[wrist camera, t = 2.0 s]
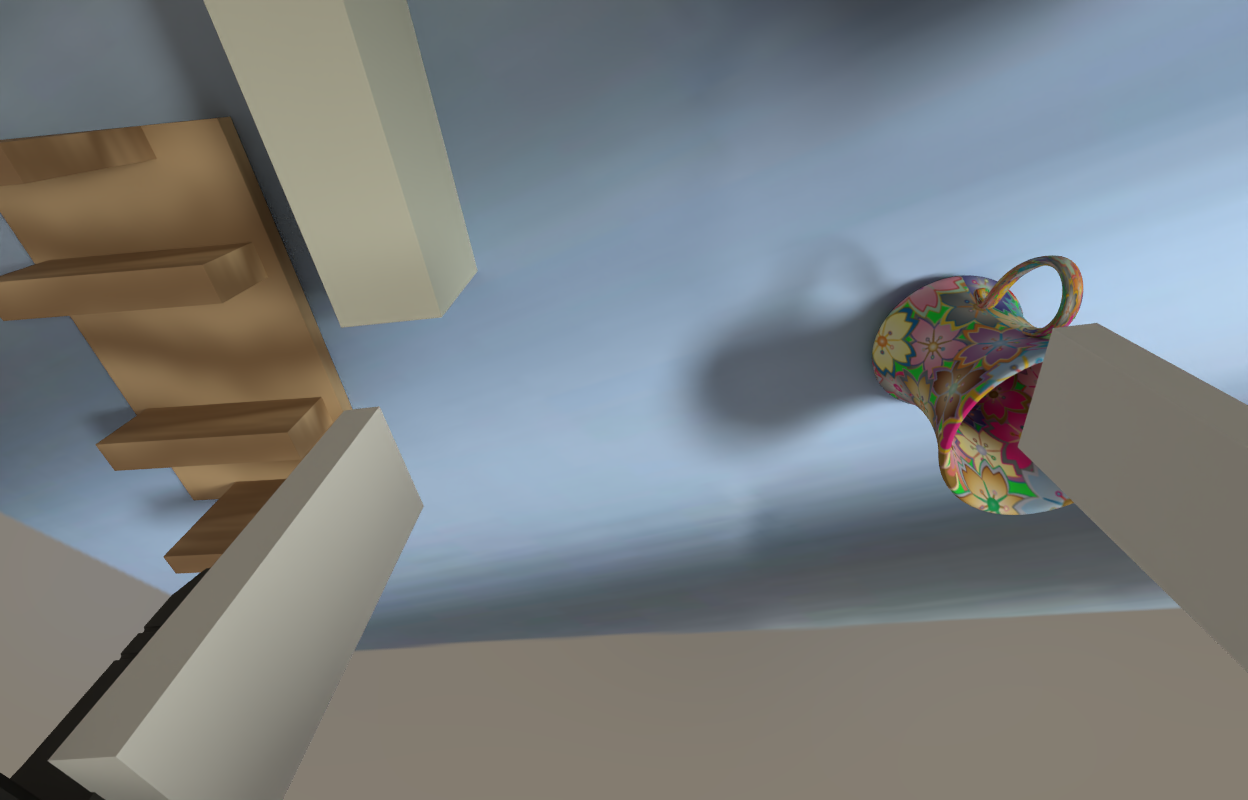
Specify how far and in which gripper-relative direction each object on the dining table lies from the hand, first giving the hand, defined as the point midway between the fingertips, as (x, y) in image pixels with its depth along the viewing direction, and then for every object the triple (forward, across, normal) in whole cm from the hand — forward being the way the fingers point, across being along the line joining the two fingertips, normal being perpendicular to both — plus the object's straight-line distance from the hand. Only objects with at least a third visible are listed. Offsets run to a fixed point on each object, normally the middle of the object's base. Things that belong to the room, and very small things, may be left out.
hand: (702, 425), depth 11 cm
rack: (+21, -29, -4) cm, 36 cm away
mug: (+21, +16, -9) cm, 28 cm away
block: (+22, -13, +6) cm, 26 cm away
